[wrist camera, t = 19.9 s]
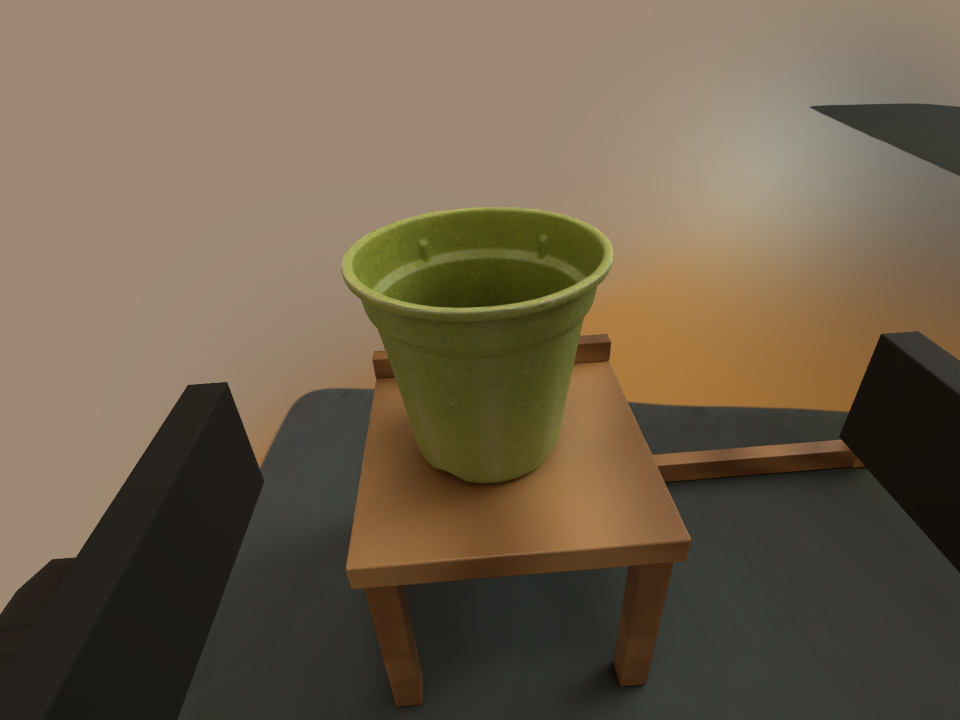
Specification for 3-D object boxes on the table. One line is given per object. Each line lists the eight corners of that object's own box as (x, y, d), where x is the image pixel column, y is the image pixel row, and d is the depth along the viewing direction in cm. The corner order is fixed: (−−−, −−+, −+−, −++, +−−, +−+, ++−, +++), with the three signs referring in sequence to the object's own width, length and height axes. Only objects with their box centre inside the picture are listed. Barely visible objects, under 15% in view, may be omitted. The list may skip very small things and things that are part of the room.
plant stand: (859, 453, 36) (928, 299, 30) (1040, 651, 25) (1207, 474, 19) (402, 490, 35) (375, 340, 29) (386, 710, 24) (337, 546, 18)
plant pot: (366, 396, 27) (331, 223, 22) (546, 358, 29) (550, 192, 24) (398, 548, 20) (355, 336, 15) (638, 482, 21) (670, 278, 17)
